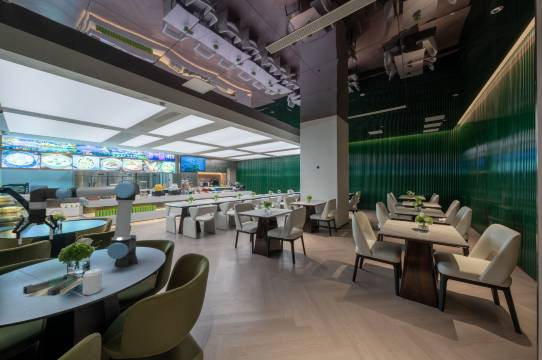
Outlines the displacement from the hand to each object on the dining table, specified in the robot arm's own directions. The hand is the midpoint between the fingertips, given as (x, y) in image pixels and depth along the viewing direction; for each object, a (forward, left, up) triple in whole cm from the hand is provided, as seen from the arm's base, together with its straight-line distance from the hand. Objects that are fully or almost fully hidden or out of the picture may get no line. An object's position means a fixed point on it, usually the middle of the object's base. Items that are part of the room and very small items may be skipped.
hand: (36, 241), depth 131 cm
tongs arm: (-19, +12, -24) cm, 33 cm away
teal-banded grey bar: (-27, +15, -24) cm, 39 cm away
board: (-24, +14, -25) cm, 38 cm away
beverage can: (-46, +22, -25) cm, 57 cm away
